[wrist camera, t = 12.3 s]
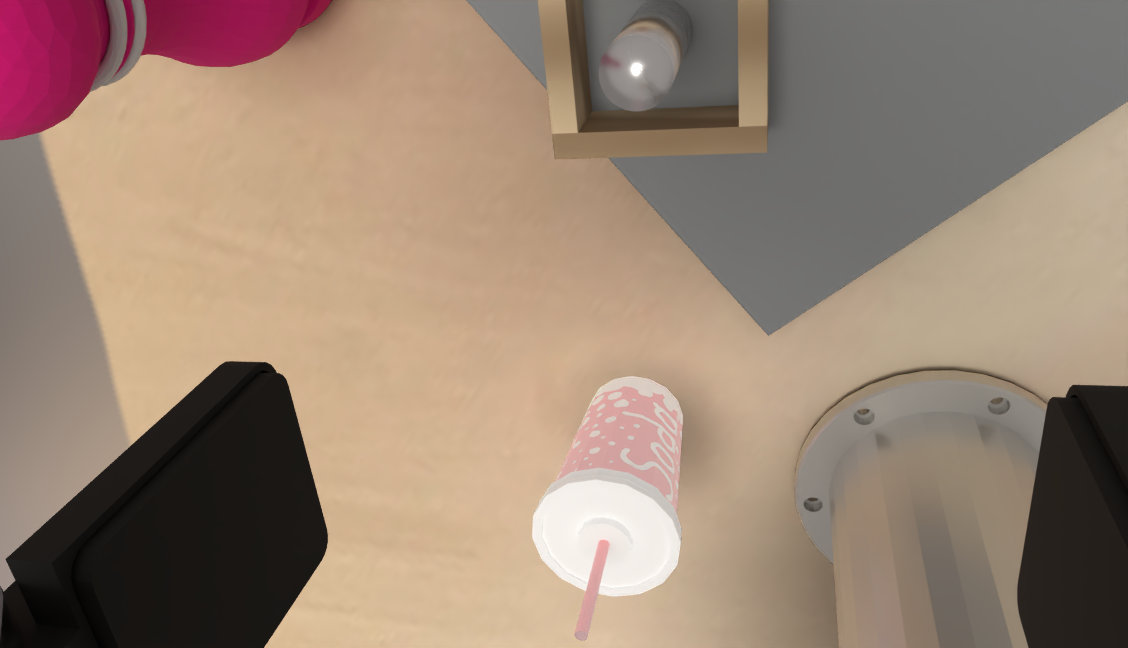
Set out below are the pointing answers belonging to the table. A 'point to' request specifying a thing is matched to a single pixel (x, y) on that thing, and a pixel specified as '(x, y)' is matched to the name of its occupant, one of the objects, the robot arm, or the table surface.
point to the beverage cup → (616, 496)
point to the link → (652, 128)
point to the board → (854, 124)
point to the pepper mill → (124, 46)
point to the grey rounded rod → (646, 56)
